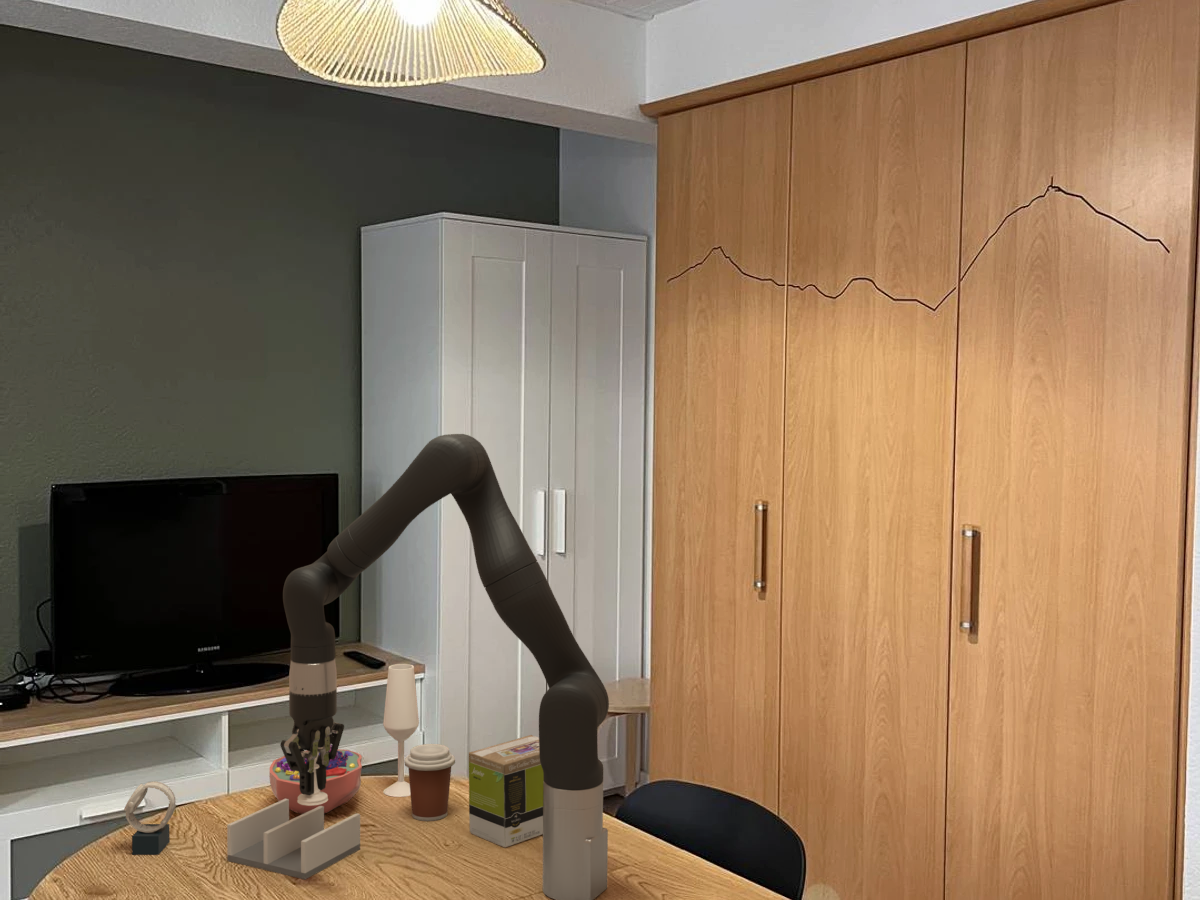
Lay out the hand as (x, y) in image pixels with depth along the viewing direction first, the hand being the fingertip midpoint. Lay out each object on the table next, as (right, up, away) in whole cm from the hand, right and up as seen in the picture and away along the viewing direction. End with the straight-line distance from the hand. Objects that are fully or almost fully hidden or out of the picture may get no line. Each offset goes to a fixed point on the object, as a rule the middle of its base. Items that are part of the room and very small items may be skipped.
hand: (313, 790), depth 199 cm
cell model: (-5, -10, +24) cm, 27 cm away
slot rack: (-4, -11, +2) cm, 12 cm away
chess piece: (0, -2, 0) cm, 2 cm away
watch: (-28, -11, +4) cm, 31 cm away
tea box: (+33, -11, +15) cm, 37 cm away
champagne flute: (+9, -10, +34) cm, 37 cm away
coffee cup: (+16, -11, +22) cm, 29 cm away
